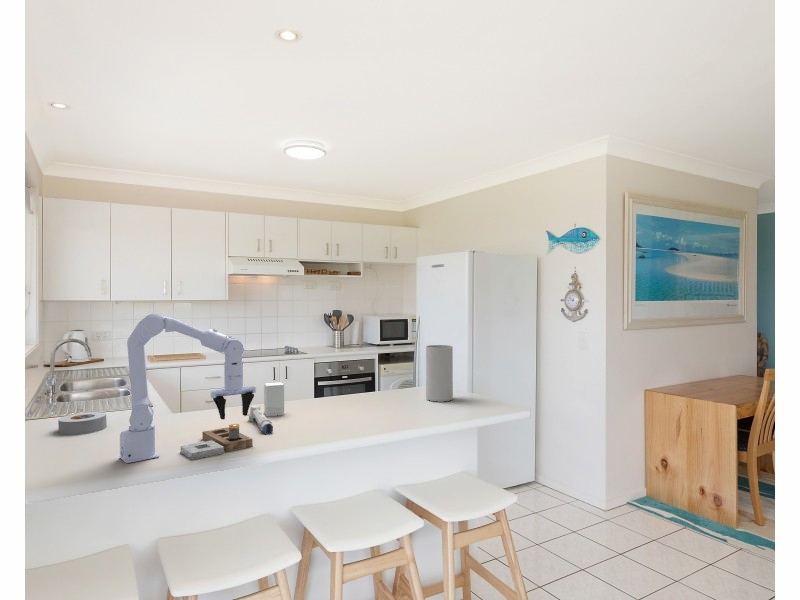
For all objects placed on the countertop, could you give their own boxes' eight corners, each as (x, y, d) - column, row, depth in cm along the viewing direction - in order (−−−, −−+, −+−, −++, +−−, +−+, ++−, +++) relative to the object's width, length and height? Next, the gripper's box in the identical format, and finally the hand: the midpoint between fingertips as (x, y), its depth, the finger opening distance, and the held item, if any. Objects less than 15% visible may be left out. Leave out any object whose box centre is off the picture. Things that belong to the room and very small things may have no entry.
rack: (225, 451, 168) (225, 443, 168) (202, 438, 183) (202, 431, 183) (252, 446, 174) (252, 438, 174) (227, 434, 189) (227, 427, 189)
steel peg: (231, 448, 171) (231, 426, 171) (227, 446, 174) (227, 425, 174) (241, 446, 174) (240, 425, 173) (236, 444, 176) (236, 423, 176)
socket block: (191, 459, 160) (191, 453, 160) (180, 452, 167) (180, 446, 167) (224, 453, 166) (224, 446, 166) (211, 446, 174) (211, 440, 174)
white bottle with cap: (260, 424, 188) (247, 402, 210) (260, 442, 189) (246, 418, 211) (275, 422, 191) (260, 400, 213) (274, 440, 192) (260, 416, 214)
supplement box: (284, 415, 218) (284, 384, 218) (266, 416, 216) (266, 385, 215) (281, 411, 225) (281, 381, 225) (263, 413, 222) (263, 383, 222)
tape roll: (50, 436, 188) (50, 422, 188) (68, 426, 203) (68, 412, 203) (98, 434, 191) (97, 420, 191) (112, 424, 206) (112, 410, 206)
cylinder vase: (439, 403, 240) (439, 348, 239) (420, 399, 249) (420, 346, 249) (458, 399, 248) (458, 346, 248) (438, 395, 257) (438, 344, 257)
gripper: (216, 379, 166) (216, 422, 166) (259, 374, 175) (260, 415, 175) (208, 376, 171) (208, 418, 171) (250, 372, 180) (250, 412, 181)
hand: (233, 417), depth 174 cm, fingers open, 7 cm apart
